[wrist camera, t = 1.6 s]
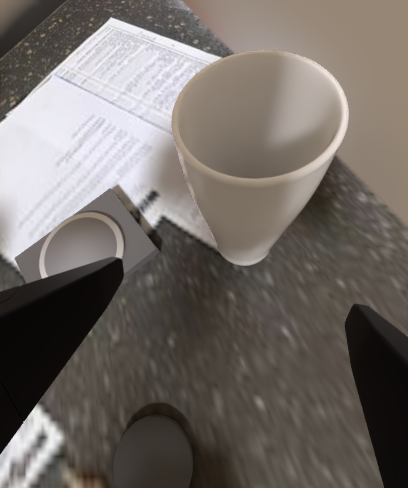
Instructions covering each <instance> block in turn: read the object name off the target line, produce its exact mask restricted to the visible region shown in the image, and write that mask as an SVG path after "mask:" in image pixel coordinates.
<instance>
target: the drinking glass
mask: <svg viewBox="0 0 408 488" xmlns="http://www.w3.org/2000/svg"><path fill="white" fill-rule="evenodd" d="M348 118H349V110H348V103H347V99H346V96H345V93H344V91H343V90H342V87H341V86H340V84H339V83H338V81H337V80H336V79H335V78H334V76H333V75H332V74H331V73H330V72H329V71H327V70H326V69H325V68H323V67H322V66H320V65H319V64H318V63H316V62H314V61H312V60H310V59H308V58H306V57H303V56H300V55H297V54H294V53H290V52H284V51H277V50H254V51H248V52H241V53H237V54H234V55H230V56H227V57H225V58H222V59H220V60H218V61H216V62H214V63H212V64H210V65H208V66H207V67H205V68H204V69H202V70H201V71H200V72H198V73H197V74H196V75H195V76H194V77H193V78H192V79H191V80H190V81H189V82H188V83H187V84H186V85H185V87H184V88H183V89H182V91H181V93H180V94H179V96H178V98H177V100H176V103H175V105H174V109H173V113H172V121H171V122H172V134H173V138H174V142H175V145H176V149H177V153H178V157H179V160H180V164H181V168H182V171H183V174H184V177H185V180H186V183H187V186H188V188H189V191H190V193H191V196H192V198H193V200H194V202H195V204H196V206H197V208H198V210H199V212H200V214H201V216H202V218H203V219H204V221H205V223H206V225H207V227H208V229H209V230H210V232H211V234H212V236H213V238H214V240H215V242H216V246H217V248H218V251H219V252H220V254H221V255H222V256H223V257H224V258H225V259H226V260H227V261H229V262H231V263H233V264H236V265H241V266H248V265H253V264H256V263H258V262H260V261H261V260H262V259H264V258H265V257H266V256H267V255H268V253H269V252H270V250H271V248H272V246H273V245H274V244H275V242H276V241H277V240H278V239H279V238H280V236H281V235H282V234H283V233H284V232H285V230H286V229H287V228H288V227H289V226H290V224H291V223H292V222H293V221H294V220H295V219H296V217H297V216H298V215H299V214H300V212H301V211H302V210H303V209H304V207H305V206H306V204H307V203H308V202H309V200H310V199H311V197H312V196H313V194H314V192H315V191H316V189H317V188H318V186H319V184H320V183H321V181H322V179H323V177H324V175H325V174H326V172H327V170H328V168H329V166H330V164H331V162H332V160H333V158H334V156H335V154H336V152H337V150H338V148H339V146H340V144H341V142H342V140H343V138H344V136H345V133H346V130H347V125H348Z"/></svg>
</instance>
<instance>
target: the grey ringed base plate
mask: <svg viewBox="0 0 408 488" xmlns="http://www.w3.org/2000/svg"><path fill="white" fill-rule="evenodd" d="M158 253H160V251H159V250H158V248H157V247H156V246H155V244H154V243H153V242H152V240H151V239H150V238H149V237H148V235H147V234H146V233H145V231H144V230H143V229H142V228H141V226H140V225H139V224H138V222H137V221H136V220H135V218H134V217H133V216H132V215H131V213H130V212H129V211H128V209H127V208H126V207H125V205H124V204H123V203H122V202H121V200H120V199H119V198H118V196H117V195H116V194H115V193H114V192H113V191H112V189H111V188H110V189H108V190H107V191H106V192H104V193H103V194H102V195H100V196H99V197H98V198H96V199H95V200H93V201H92V202H91V203H89V204H88V205H87V206H85V207H84V208H83V209H81V210H80V211H78V212H77V213H76V214H74V215H73V216H71V217H69V218H67V219H66V220H64V221H63V222H61V223H60V224H59V225H58V226H57V227H56V228H55V229H54V230H52V231H51V232H50V233H48V234H47V235H46V236H44V237H43V238H42V239H40V240H39V241H37V242H36V243H35V244H33V245H32V246H31V247H29V248H28V249H26V250H25V251H24V252H22V253H21V254H20V255H18V256H17V257H16V258H15V260H16V262H17V264H18V266H19V268H20V270H21V272H22V275H23V277H24V279H25V281H26V283H30V282H33V281H36V280H39V279H42V278H45V277H49V276H52V275H55V274H58V273H61V272H64V271H67V270H71V269H74V268H77V267H80V266H83V265H86V264H89V263H93V262H96V261H99V260H102V259H105V258H108V257H112V256H113V257H118V258H121V259H122V261H123V268H124V278H123V281H124V280H125V279H127V278H128V277H129V276H130V275H132V274H133V273H134V272H136V271H137V270H138V269H139V268H141V267H142V266H143V265H144V264H146V263H147V262H148V261H150V260H151V259H152V258H153V257H155V256H156V255H157V254H158ZM123 281H122V282H123ZM122 282H121V283H122Z"/></svg>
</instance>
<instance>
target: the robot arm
mask: <svg viewBox="0 0 408 488" xmlns="http://www.w3.org/2000/svg"><path fill="white" fill-rule="evenodd" d="M123 278H124V268H123V261H122V259H121V258H118V257H113V256H112V257H108V258H105V259H102V260H99V261H96V262H93V263H89V264H86V265H83V266H80V267H77V268H74V269H71V270H67V271H64V272H61V273H58V274H55V275H52V276H49V277H45V278H42V279H39V280H36V281H33V282H30V283H27V284H23V285H21V286H17V287H14V288H11V289H7V290H4V291H1V292H0V454H1V453H2V451H3V450H4V449H5V447H6V446H7V445H8V443H9V442H10V440H11V439H12V438H13V436H14V435H15V434H16V432H17V431H18V429H19V428H20V427H21V425H22V424H23V421H25V420H26V418H27V417H28V415H29V414H30V413H31V411H32V410H33V409H34V407H35V406H36V404H37V403H38V402H39V400H40V399H41V398H42V396H43V395H44V393H45V392H46V391H47V389H48V388H49V387H50V385H51V384H52V382H53V381H54V380H55V378H56V377H57V376H58V374H59V373H60V371H61V370H62V369H63V367H64V366H65V365H66V363H67V362H68V360H69V359H70V358H71V356H72V355H73V354H74V352H75V351H76V350H77V348H78V347H79V345H80V344H81V343H82V341H83V340H84V339H85V337H86V336H87V334H88V333H89V332H90V330H91V329H92V328H93V326H94V325H95V323H96V322H97V321H98V319H99V318H100V317H101V315H102V314H103V312H104V311H105V309H106V308H107V306H108V305H109V303H110V301H111V300H112V298H113V296H114V294H115V293H116V291H117V289H118V287H119V286H120V284H121V282H122V281H123ZM345 331H346V337H347V344H348V350H349V357H350V363H351V368H352V372H353V376H354V380H355V383H356V387H357V391H358V394H359V398H360V402H361V405H362V409H363V412H364V416H365V420H366V423H367V427H368V431H369V434H370V438H371V442H372V445H373V449H374V452H375V456H376V460H377V463H378V467H379V471H380V474H381V478H382V481H383V485H384V488H408V337H407V336H406V335H405V334H404V333H402V332H401V331H400V330H398V329H397V328H396V327H395V326H393V325H392V324H391V323H389V322H388V321H387V320H386V319H384V318H383V317H382V316H380V315H379V314H378V313H377V312H375V311H374V310H373V309H371V308H370V307H369V306H366V305H361V304H354V305H353V306H352V308H351V310H350V312H349V314H348V316H347V318H346V321H345Z"/></svg>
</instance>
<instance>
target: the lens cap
mask: <svg viewBox="0 0 408 488" xmlns="http://www.w3.org/2000/svg"><path fill="white" fill-rule="evenodd" d="M193 464H194V460H193V451H192V446H191V443H190V440H189V438H188V436H187V434H186V432H185V431H184V429H183V428H182V427H181V426H180V425H179V424H178V423H177V422H176V421H175V420H173V419H172V418H170V417H168V416H165V415H159V414H152V415H148V416H145V417H143V418H141V419H139V420H138V421H136V422H135V423H134V424H133V425H132V426H131V427H130V428H129V429H128V430H127V431H126V432H125V434H124V435H123V437H122V438H121V440H120V442H119V444H118V446H117V449H116V452H115V456H114V463H113V476H114V482H115V486H116V488H189V485H190V481H191V478H192V473H193Z"/></svg>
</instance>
